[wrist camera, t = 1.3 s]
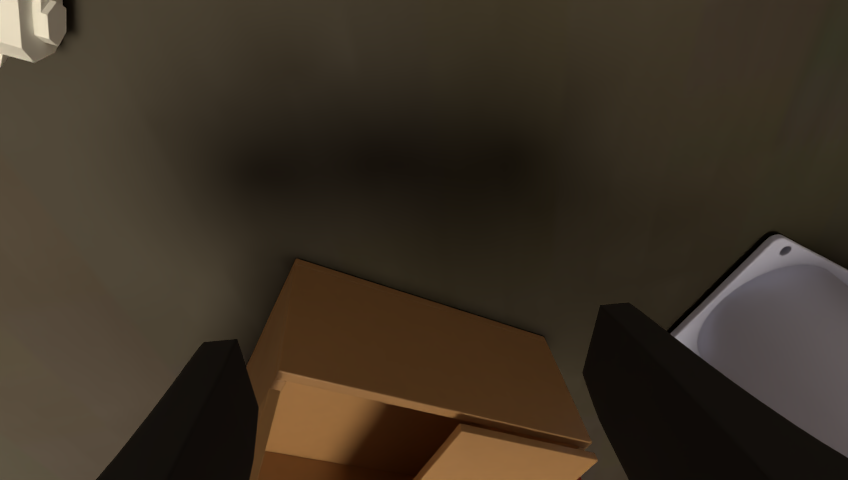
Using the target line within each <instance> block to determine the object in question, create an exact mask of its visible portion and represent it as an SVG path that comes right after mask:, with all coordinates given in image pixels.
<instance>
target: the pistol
mask: <svg viewBox="0 0 848 480" xmlns="http://www.w3.org/2000/svg"><path fill="white" fill-rule="evenodd" d="M66 32H67V31H66V8H65V7H64V6H63V0H0V67H1V66H2V65H3V64H4V62H5V61H6V60H7V58H8V57H9V56H11V57H15V58H18V59H22V60H26V61H30V62H33V63H35V62H37V61H39V60H41V59H43V58H45V57H47V56H49V55H51V54H53V53H55V52H56V49H57V47H58V46H59V45H60V43H61V41H62V39H63V37H64V35H65V34H66Z"/></svg>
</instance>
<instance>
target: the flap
mask: <svg viewBox="0 0 848 480" xmlns="http://www.w3.org/2000/svg"><path fill="white" fill-rule="evenodd" d="M279 395H280V391H278V390H275V389H271V388H269V390H268V391H267V393H266V395H265V397H264V399H263V401H262V403H261V405H260V407H259V411H258V422H257V433H256V443H255V452H254V460H253V465H252V470H251V475H250V480H258V477H259V473H260V469H261V465H262V461H263V458H264V454H265V450H266V446H267V442H268V438H269V434H270V430H271V426H272V422H273V418H274V414H275V411H276V407H277V403H278V399H279Z"/></svg>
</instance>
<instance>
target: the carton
mask: <svg viewBox="0 0 848 480" xmlns="http://www.w3.org/2000/svg"><path fill="white" fill-rule="evenodd" d="M246 369H247V372H248V375H249V378H250V381H251V384H252V388H253V391H254V394H255V397H256V400H257V403H258V406H259V407H260V405H261V403H262V401H263V399H264V397H265V395H266V393H267V391H268V390H269V388H271V389H275V390H278V391H280V395H279V399H278V403H277V407H276V411H275V414H274V418H273V422H272V426H271V430H270V434H269V438H268V442H267V446H266V450H265V454H264V458H263V461H262V465H261V469H260V473H259V477H258V480H577V479H578V478H579V477H580V476H581V475H583V474H584V473H585V472H586V471H587V470H588V469H589V468H590V467H591V466H593V465H594V464H595V463H596V462H597V461H598V460H597V457H596V455H595V453H592V452H588V451H584V450H585V449H586V448H587V447H588V446H589V445H590V444H591V443H592V441H591V439H590V437H589V435H588V432H587V430H586V428H585V426H584V424H583V421H582V419H581V417H580V415H579V413H578V410H577V408H576V406H575V404H574V402H573V399H572V397H571V395H570V393H569V391H568V388H567V386H566V384H565V382H564V380H563V377H562V375H561V373H560V371H559V369H558V366H557V364H556V362H555V360H554V358H553V355H552V353H551V351H550V349H549V347H548V344H547V343H546V340H545V338H544V337H543V336H540V335H536V334H533V333H530V332H527V331H524V330H521V329H517V328H514V327H511V326H508V325H505V324H502V323H499V322H495V321H492V320H489V319H486V318H483V317H480V316H477V315H473V314H470V313H467V312H464V311H461V310H458V309H454V308H451V307H448V306H445V305H442V304H439V303H436V302H432V301H429V300H426V299H423V298H420V297H417V296H413V295H410V294H407V293H404V292H401V291H398V290H395V289H391V288H388V287H385V286H382V285H379V284H376V283H373V282H369V281H366V280H363V279H360V278H357V277H354V276H350V275H347V274H344V273H341V272H338V271H335V270H332V269H328V268H325V267H322V266H319V265H316V264H313V263H309V262H306V261H303V260H300V259H295V262H294V264H293V266H292V268H291V270H290V272H289V275H288V277H287V279H286V281H285V283H284V286H283V288H282V290H281V292H280V294H279V296H278V299H277V301H276V303H275V305H274V307H273V310H272V312H271V314H270V316H269V318H268V320H267V323H266V325H265V327H264V329H263V331H262V334H261V336H260V338H259V340H258V342H257V344H256V347H255V349H254V351H253V353H252V355H251V358H250V360H249V362H248V364H247V366H246Z"/></svg>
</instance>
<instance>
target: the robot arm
mask: <svg viewBox="0 0 848 480" xmlns="http://www.w3.org/2000/svg"><path fill="white" fill-rule="evenodd" d="M583 376H584V379H585V382H586V385H587V388H588V391H589V394H590V397H591V399H592V402H593V405H594V407H595V410H596V413H597V415H598V418H599V420H600V422H601V425H602V427H603V429H604V431H605V433H606V435H607V437H608V439H609V441H610V443H611V445H612V447H613V449H614V451H615V453H616V455H617V457H618V459H619V461H620V463H621V465H622V467H623V469H624V471H625V473H626V475H627V477H628V479H629V480H848V270H847V269H845V268H844V267H842V266H840V265H838V264H836V263H834V262H832V261H830V260H828V259H827V258H825V257H823V256H821V255H819V254H817V253H815V252H813V251H811V250H809V249H808V248H806V247H804V246H802V245H800V244H798V243H796V242H794V241H792V240H790V239H789V238H787V237H785V236H783V235H780V234H776V235H772V236H770V237H769V238H767V239H766V240H765V241H764V242H763V243H762V244H761V245H760V246H759V247H758V248H757V249H756V250H755V251H754V252H753V253H752V254H751V255H750V256H749V257H748V258H747V259H746V260H745V261H744V262H743V263H742V264H741V265H740V266H739V267H738V268H737V269H736V270H734V271H733V272H732V273H731V274H730V275H729V276H728V277H727V278H726V279H725V280H724V281H723V282H722V283H721V284H720V285H719V286H718V287H717V288H716V289H715V290H714V291H713V292H712V293H711V294H710V295H709V296H708V297H707V298H706V299H705V300H704V301H703V302H702V303H701V304H700V305H699V306H698V307H697V308H696V309H695V310H694V311H693V312H692V313H691V314H690V315H689V316H688V317H687V318H686V319H684V320H683V321H682V322H681V323H680V324H679V325H678V326H677V327H676V328H675V329H674V330H673V331H672V332H671V333H668V332H667V331H666V330H664V329H663V328H662V327H660V326H659V325H658V324H657V323H655V322H654V321H653V320H651V319H650V318H649V317H647V316H646V315H645V314H644V313H642V312H641V311H640V310H638V309H637V308H635V307H634V306H633V305H631V304H630V303H620V304H609V305H600V308H599V312H598V316H597V320H596V323H595V327H594V331H593V335H592V339H591V342H590V346H589V350H588V354H587V358H586V361H585V365H584V369H583ZM258 411H259V406H258V403H257V400H256V397H255V394H254V391H253V388H252V384H251V381H250V378H249V375H248V372H247V369H246V365H245V362H244V359H243V356H242V353H241V350H240V346H239V343H238V340H237V339H234V340H223V341H212V342H204V343H203V344H202V345H201V346H200V347H199V348H198V350H197V351H196V352H195V354H194V355H193V357H192V358H191V359H190V361H189V362H188V363H187V365H186V366H185V367H184V369H183V370H182V371H181V373H180V374H179V376H178V377H177V378H176V380H175V381H174V382H173V384H172V385H171V386H170V388H169V389H168V390H167V392H166V393H165V394H164V396H163V397H162V398H161V400H160V401H159V402H158V404H157V405H156V406H155V408H154V409H153V410H152V411H151V413H150V414H149V415H148V417H147V418H146V419H145V420H144V422H143V423H142V424H141V425H140V427H139V428H138V429H137V430H136V432H135V433H134V434H133V436H132V437H131V438H130V439H129V441H128V442H127V443H126V444H125V446H124V447H123V448H122V449H121V451H120V452H119V453H118V454H117V456H116V457H115V458H114V459H113V460H112V462H111V463H110V464H109V465H108V466H107V467H106V469H105V470H104V471H103V472H102V473H101V474H100V476H99V477H98V478H97V479H96V480H250V475H251V470H252V465H253V460H254V452H255V443H256V433H257V422H258Z"/></svg>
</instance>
